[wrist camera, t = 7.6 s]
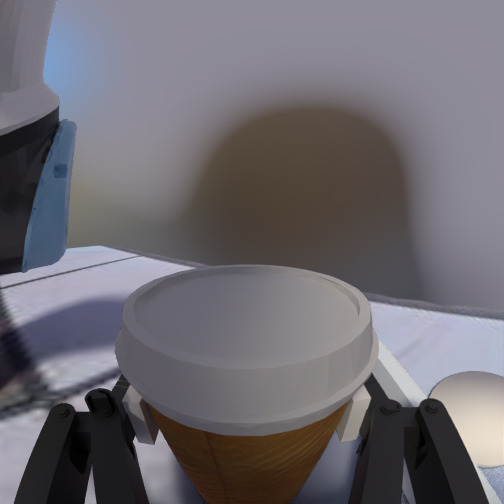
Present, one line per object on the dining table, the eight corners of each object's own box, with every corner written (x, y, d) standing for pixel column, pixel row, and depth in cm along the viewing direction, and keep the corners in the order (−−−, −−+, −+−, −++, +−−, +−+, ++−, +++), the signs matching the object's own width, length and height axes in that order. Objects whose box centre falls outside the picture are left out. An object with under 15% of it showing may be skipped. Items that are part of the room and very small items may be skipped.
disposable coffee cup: (241, 407, 19) (238, 253, 16) (355, 460, 13) (408, 285, 10) (138, 471, 12) (73, 294, 9) (260, 569, 6) (279, 461, 3)
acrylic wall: (459, 567, 2) (519, 532, 1) (441, 578, 2) (501, 548, 1) (354, 367, 23) (363, 320, 22) (342, 368, 23) (350, 321, 22)
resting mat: (398, 408, 17) (400, 404, 17) (472, 362, 20) (474, 358, 20) (493, 494, 5) (497, 490, 5) (549, 410, 9) (551, 406, 8)
